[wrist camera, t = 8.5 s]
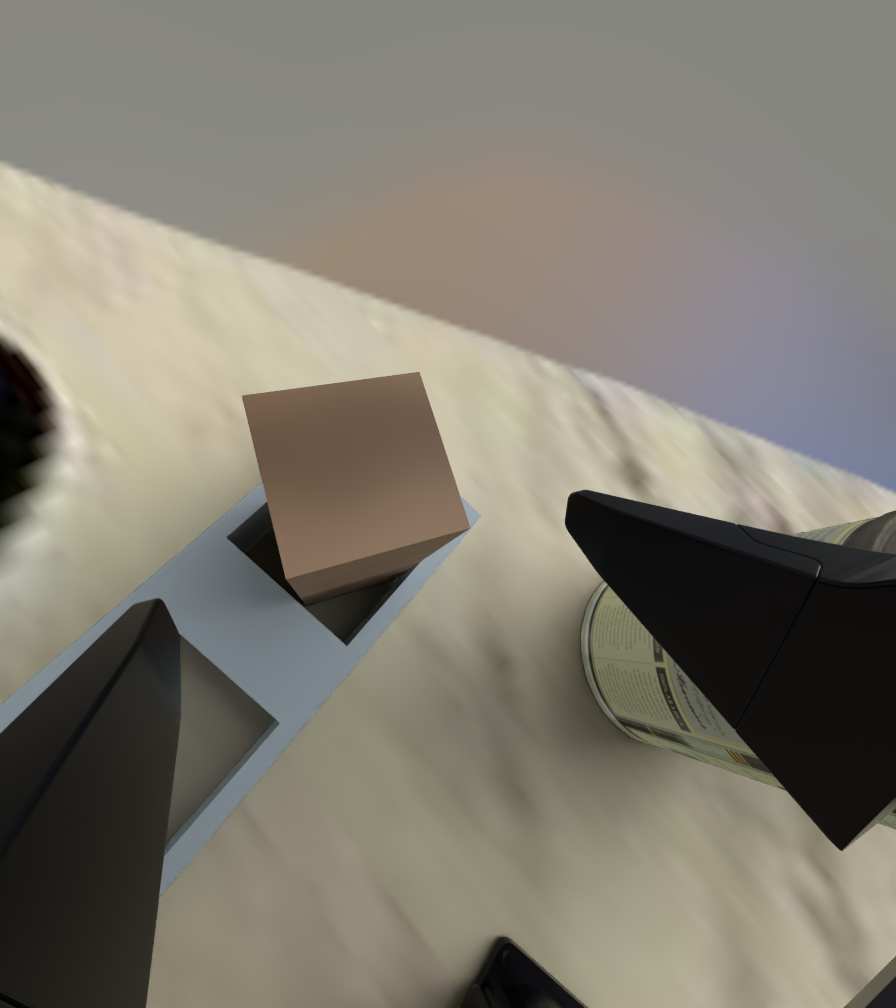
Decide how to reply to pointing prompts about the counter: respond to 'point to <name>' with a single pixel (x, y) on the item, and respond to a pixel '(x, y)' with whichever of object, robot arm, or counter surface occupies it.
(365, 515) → the peg
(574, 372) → the counter surface
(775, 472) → the counter surface
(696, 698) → the coffee can
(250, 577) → the blue peg holder
